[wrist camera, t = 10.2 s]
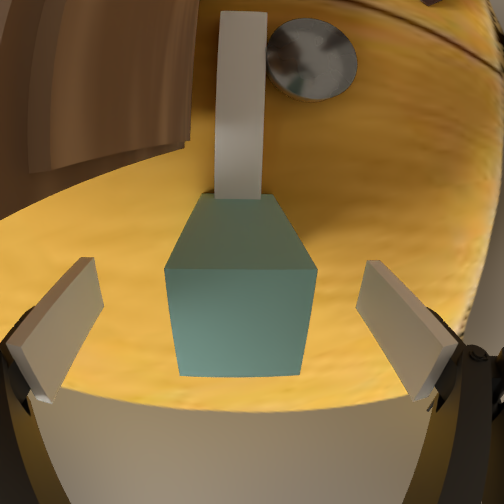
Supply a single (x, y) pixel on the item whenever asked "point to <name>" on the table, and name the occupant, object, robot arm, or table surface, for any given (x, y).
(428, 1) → the box
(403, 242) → the table surface
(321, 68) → the disc
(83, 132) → the wooden cabinet
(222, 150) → the tool
